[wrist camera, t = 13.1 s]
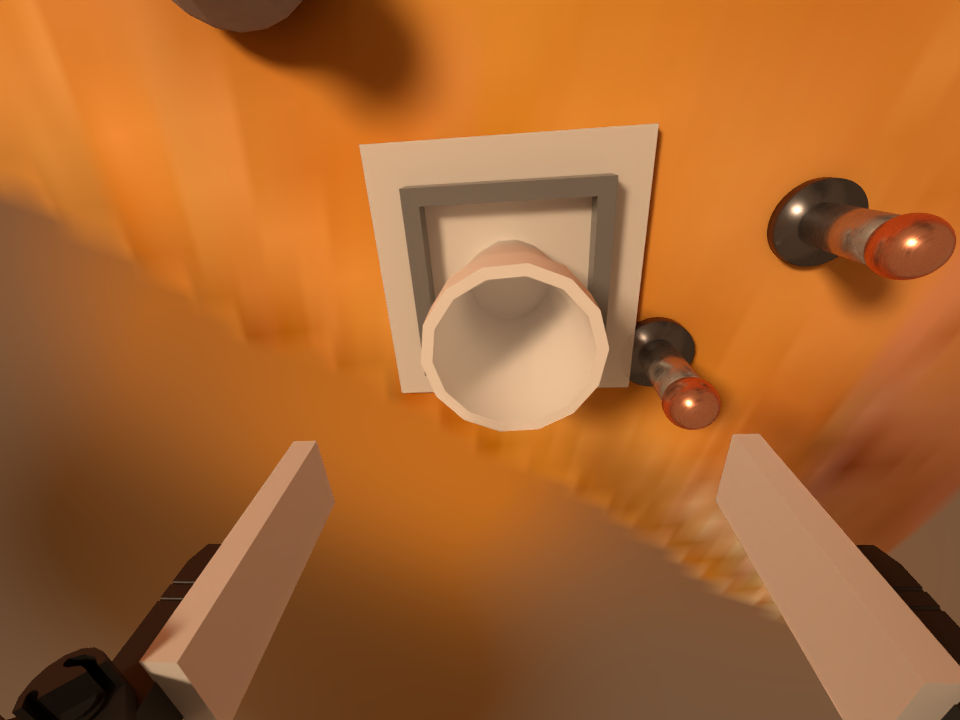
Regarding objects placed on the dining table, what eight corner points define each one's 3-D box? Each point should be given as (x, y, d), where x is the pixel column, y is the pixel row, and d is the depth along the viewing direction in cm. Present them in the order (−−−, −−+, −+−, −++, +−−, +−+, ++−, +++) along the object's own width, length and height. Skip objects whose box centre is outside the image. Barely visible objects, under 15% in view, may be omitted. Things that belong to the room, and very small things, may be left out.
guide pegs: (602, 351, 36) (633, 419, 27) (830, 157, 29) (976, 164, 20) (646, 392, 38) (690, 469, 29) (873, 218, 30) (1026, 250, 21)
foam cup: (435, 312, 34) (399, 399, 23) (471, 198, 30) (451, 234, 19) (543, 349, 35) (561, 450, 24) (592, 244, 31) (644, 305, 20)
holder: (363, 144, 30) (349, 145, 27) (654, 123, 28) (669, 122, 26) (404, 387, 39) (397, 405, 36) (625, 381, 37) (634, 399, 35)
